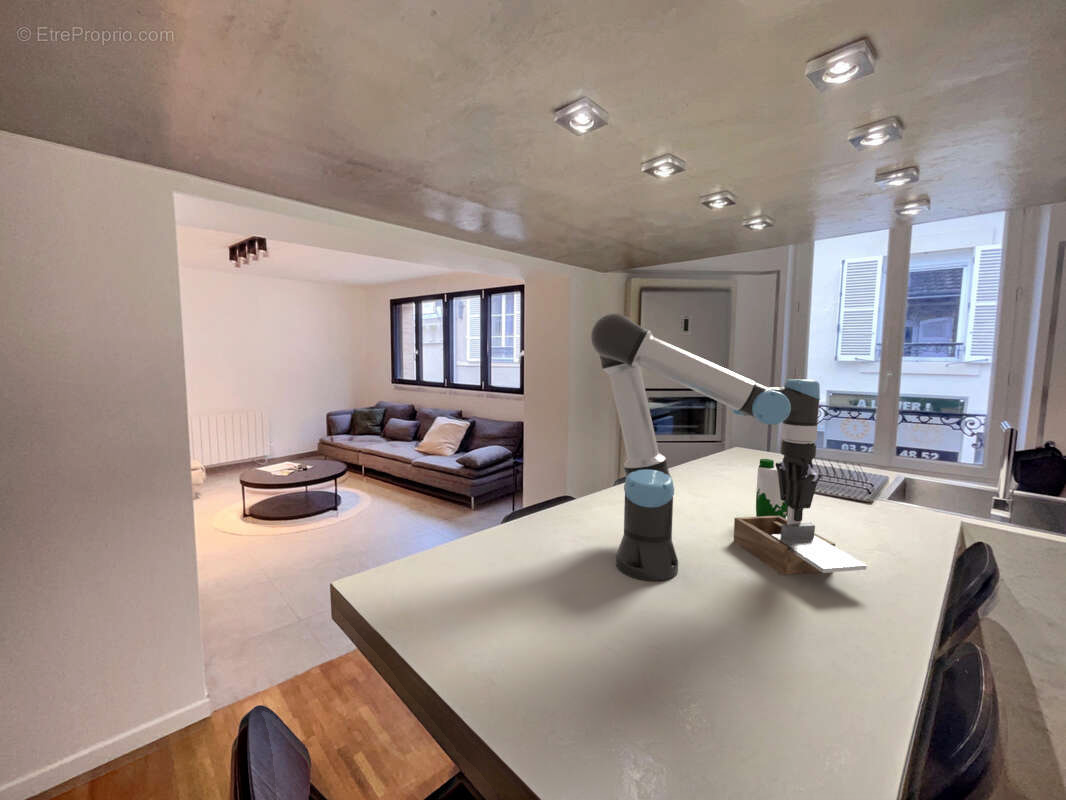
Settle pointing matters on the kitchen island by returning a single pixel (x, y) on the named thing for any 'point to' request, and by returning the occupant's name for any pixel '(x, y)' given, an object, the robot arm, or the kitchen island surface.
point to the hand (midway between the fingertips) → (793, 531)
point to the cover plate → (816, 549)
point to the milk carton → (769, 491)
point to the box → (770, 544)
